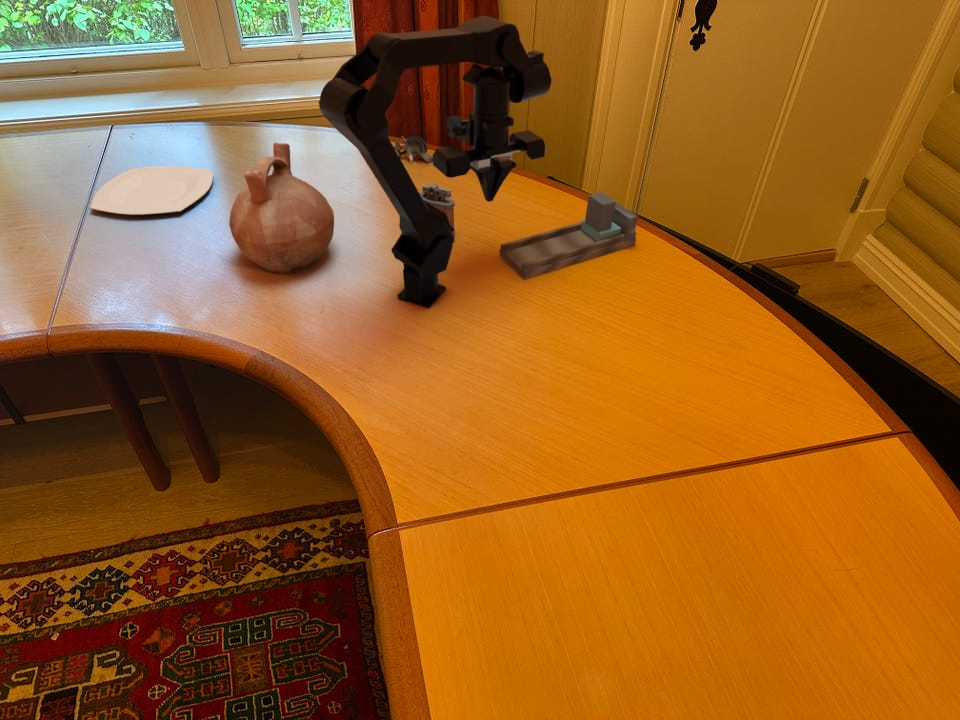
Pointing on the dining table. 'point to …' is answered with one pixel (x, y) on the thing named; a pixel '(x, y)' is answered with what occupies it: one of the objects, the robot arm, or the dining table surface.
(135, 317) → the dining table surface
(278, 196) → the jug
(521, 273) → the rail
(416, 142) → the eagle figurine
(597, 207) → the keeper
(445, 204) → the lighter
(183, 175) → the plate
